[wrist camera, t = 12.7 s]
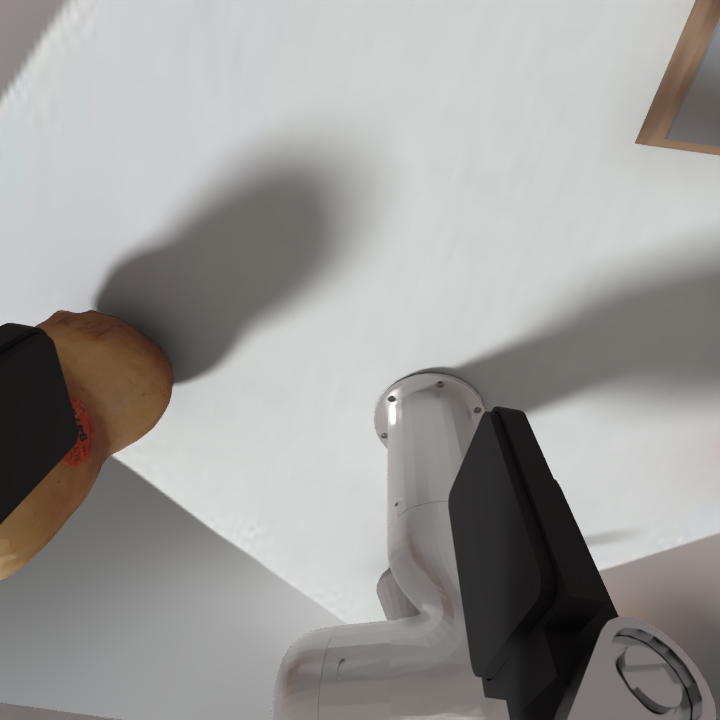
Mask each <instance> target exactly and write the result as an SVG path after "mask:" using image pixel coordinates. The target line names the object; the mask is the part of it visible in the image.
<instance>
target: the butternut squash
mask: <svg viewBox="0 0 720 720" xmlns="http://www.w3.org/2000/svg"><path fill="white" fill-rule="evenodd" d="M35 327H38V328H41V329H43V330H44V331H45V332H46V333H47V335H48V337H51V338H52V339H53V341H54V343H55V347H56V350H57V354H58V358H59V361H60V365H61V368H62V372H63V376H64V379H65V383H66V386H67V390H68V393H69V397H70V401H71V404H72V408H73V411H74V415H75V419H76V422H77V426H78V429H79V436H78V440H77V442H76V444H75V445H74V447H73V448H72V449H71V450H70V451H69V452H68V453H67V454H66V455H65V456H64V458H63V459H62V460H61V461H60V462H59V463H58V464H57V465H56V466H55V467H54V468H53V469H52V470H51V471H50V472H49V473H48V475H47V476H46V477H45V478H44V479H43V480H42V481H41V482H40V483H39V484H38V485H37V486H36V487H35V488H34V489H33V491H32V492H31V493H30V494H29V495H28V496H27V497H26V498H25V499H24V500H23V501H22V502H21V503H20V504H19V505H18V507H17V508H16V509H15V510H14V511H13V512H12V513H11V514H10V515H9V516H8V517H7V518H6V519H5V520H4V521H3V523H2V524H1V525H0V580H1V579H3V578H5V577H8V576H10V575H12V574H13V573H15V572H16V571H18V570H19V569H20V568H21V567H23V566H24V565H25V564H26V563H28V562H29V561H30V560H31V559H32V558H33V557H34V556H35V555H36V554H37V553H38V552H39V551H40V550H42V549H43V548H44V547H45V545H46V544H47V543H48V542H49V541H50V540H51V539H52V538H53V537H54V536H55V534H56V533H57V532H58V531H59V530H60V528H61V527H62V526H63V525H64V523H65V522H66V521H67V519H68V518H69V517H70V516H71V515H72V514H73V513H74V512H75V511H76V509H77V508H78V507H79V506H80V504H81V503H82V502H83V501H84V499H85V498H86V497H87V495H88V493H89V491H90V490H91V488H92V486H93V484H94V482H95V480H96V478H97V476H98V474H99V472H100V469H101V467H102V464H103V463H104V461H105V460H106V459H107V458H108V457H109V456H111V455H112V454H114V453H116V452H118V451H120V450H122V449H123V448H125V447H127V446H129V445H130V444H132V443H134V442H135V441H137V440H139V439H140V438H141V437H143V436H144V435H145V434H147V433H148V432H149V431H150V430H151V429H152V428H153V427H154V426H155V425H156V424H157V422H158V421H159V420H160V418H161V417H162V415H163V413H164V412H165V410H166V408H167V406H168V404H169V402H170V398H171V394H172V386H173V373H172V367H171V363H170V361H169V359H168V358H167V356H166V355H165V353H164V352H163V351H162V349H161V347H160V346H158V345H157V344H155V343H154V342H152V341H151V340H150V339H148V338H147V337H145V336H144V335H143V334H141V333H140V332H139V331H137V330H136V329H134V328H133V327H132V326H130V325H129V324H127V323H125V322H124V321H122V320H121V319H119V318H117V317H112V316H107V315H103V314H100V313H98V312H96V311H93V310H89V311H87V312H83V313H73V312H69V311H63V310H60V311H57V312H56V313H54V314H53V315H52V316H51V317H50V318H49V319H47V320H46V321H44V322H42V323H40V324H38V325H37V326H35Z"/></svg>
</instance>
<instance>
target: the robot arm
mask: <svg viewBox="0 0 720 720" xmlns="http://www.w3.org/2000/svg"><path fill="white" fill-rule="evenodd" d="M374 424H375V430H376V433H377V436H378V437H379V439H380V441H381V442H382V443H383V444H384V445H385V446H386V448H387V449H388V473H387V554H388V561H389V566H390V569H391V571H392V574H393V576H394V578H395V580H396V582H397V584H398V585H399V587H400V588H401V590H402V591H403V592H404V594H405V595H406V596H407V598H408V599H409V600H410V601H411V602H412V603H413V605H414V606H415V607H416V608H417V609H418V610H419V611H420V612H421V614H419V615H417V616H413V617H407V618H400V619H398V620H390V621H379V622H369V623H359V624H349V625H341V626H332V627H326V628H320V629H316V630H313V631H310V632H308V633H306V634H304V635H303V636H301V637H300V638H298V639H297V640H296V641H295V642H294V643H293V644H292V645H291V646H290V648H289V649H288V651H287V652H286V654H285V656H284V657H283V660H282V662H281V665H280V667H279V670H278V674H277V677H276V681H275V686H274V692H273V700H272V711H271V720H717V719H716V711H715V703H714V701H713V698H712V695H711V693H710V690H709V687H708V685H707V683H706V682H705V680H704V678H703V677H702V675H701V674H700V672H699V670H698V668H697V667H696V665H695V664H694V663H693V662H692V661H691V659H690V658H689V657H688V656H687V655H686V654H685V652H684V651H683V650H682V649H681V648H680V647H679V646H678V645H677V644H676V643H675V642H673V641H672V640H671V639H670V638H669V637H668V636H666V635H665V634H664V633H663V632H661V631H659V630H658V629H656V628H655V627H653V626H651V625H650V624H648V623H645V622H643V621H640V620H637V619H635V618H630V617H619V616H618V614H617V612H616V610H615V608H614V605H613V603H612V601H611V599H610V596H609V594H608V592H607V590H606V587H605V585H604V583H603V581H602V579H601V576H600V574H599V572H598V570H597V567H596V565H595V563H594V561H593V559H592V556H591V554H590V552H589V550H588V547H587V545H586V543H585V541H584V539H583V536H582V534H581V532H580V530H579V527H578V525H577V523H576V521H575V519H574V516H573V514H572V512H571V510H570V507H569V505H568V503H567V501H566V499H565V496H564V494H563V492H562V490H561V487H560V486H559V484H558V483H557V481H556V480H555V479H554V478H553V476H552V474H551V471H550V469H549V467H548V465H547V462H546V460H545V458H544V456H543V453H542V451H541V449H540V447H539V444H538V442H537V440H536V438H535V435H534V433H533V431H532V428H531V426H530V424H529V422H528V419H527V417H526V415H525V413H524V412H523V411H521V410H515V409H509V408H503V407H494V408H493V409H492V411H491V412H487V411H486V412H485V408H484V405H483V402H482V400H481V398H480V396H479V395H478V393H477V392H476V391H475V390H474V389H473V388H472V387H471V386H470V385H469V384H467V383H465V382H464V381H462V380H460V379H458V378H455V377H452V376H450V375H444V374H439V373H426V374H419V375H414V376H411V377H408V378H405V379H403V380H401V381H399V382H397V383H395V384H394V385H392V386H391V387H390V388H388V389H387V390H386V392H385V393H384V394H383V395H382V396H381V398H380V400H379V401H378V403H377V406H376V409H375V417H374ZM78 436H79V429H78V426H77V422H76V419H75V415H74V411H73V408H72V404H71V401H70V397H69V393H68V390H67V386H66V383H65V379H64V376H63V372H62V368H61V365H60V361H59V358H58V354H57V350H56V347H55V343H54V341H53V339H52V338H51V337H48V335H47V333H46V332H45V331H44V330H43V329H41V328H38V327H32V326H27V325H21V324H15V323H7V324H4V325H2V326H0V525H1V524H2V523H3V521H4V520H5V519H6V518H7V517H8V516H9V515H10V514H11V513H12V512H13V511H14V510H15V509H16V508H17V507H18V505H19V504H20V503H21V502H22V501H23V500H24V499H25V498H26V497H27V496H28V495H29V494H30V493H31V492H32V491H33V489H34V488H35V487H36V486H37V485H38V484H39V483H40V482H41V481H42V480H43V479H44V478H45V477H46V476H47V475H48V473H49V472H50V471H51V470H52V469H53V468H54V467H55V466H56V465H57V464H58V463H59V462H60V461H61V460H62V459H63V458H64V456H65V455H66V454H67V453H68V452H69V451H70V450H71V449H72V448H73V447H74V445H75V444H76V442H77V440H78ZM0 720H120V719H113V718H106V717H99V716H92V715H85V714H78V713H71V712H64V711H57V710H50V709H43V708H36V707H29V706H22V705H15V704H7V703H0Z"/></svg>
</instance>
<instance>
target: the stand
mask: <svg viewBox="0 0 720 720" xmlns="http://www.w3.org/2000/svg"><path fill="white" fill-rule="evenodd" d="M635 143H636V144H643V145H649V146H656V147H663V148H671V149H678V150H685V151H692V152H700V153H707V154H714V155H720V0H696V1H695V4H694V6H693V8H692V11H691V13H690V16H689V18H688V20H687V23H686V25H685V27H684V30H683V32H682V34H681V37H680V39H679V41H678V44H677V46H676V48H675V51H674V53H673V55H672V58H671V60H670V62H669V65H668V67H667V69H666V72H665V74H664V76H663V79H662V81H661V83H660V86H659V88H658V91H657V93H656V95H655V98H654V100H653V102H652V105H651V107H650V109H649V112H648V114H647V116H646V119H645V121H644V123H643V126H642V128H641V130H640V133H639V135H638V137H637V140H636V142H635Z"/></svg>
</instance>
